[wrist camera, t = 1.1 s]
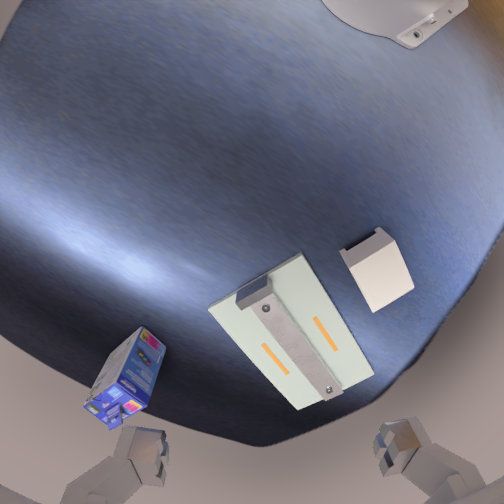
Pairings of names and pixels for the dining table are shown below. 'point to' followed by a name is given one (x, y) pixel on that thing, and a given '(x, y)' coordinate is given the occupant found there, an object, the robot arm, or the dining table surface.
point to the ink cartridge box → (126, 379)
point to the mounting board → (310, 322)
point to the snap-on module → (378, 269)
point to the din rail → (288, 335)
